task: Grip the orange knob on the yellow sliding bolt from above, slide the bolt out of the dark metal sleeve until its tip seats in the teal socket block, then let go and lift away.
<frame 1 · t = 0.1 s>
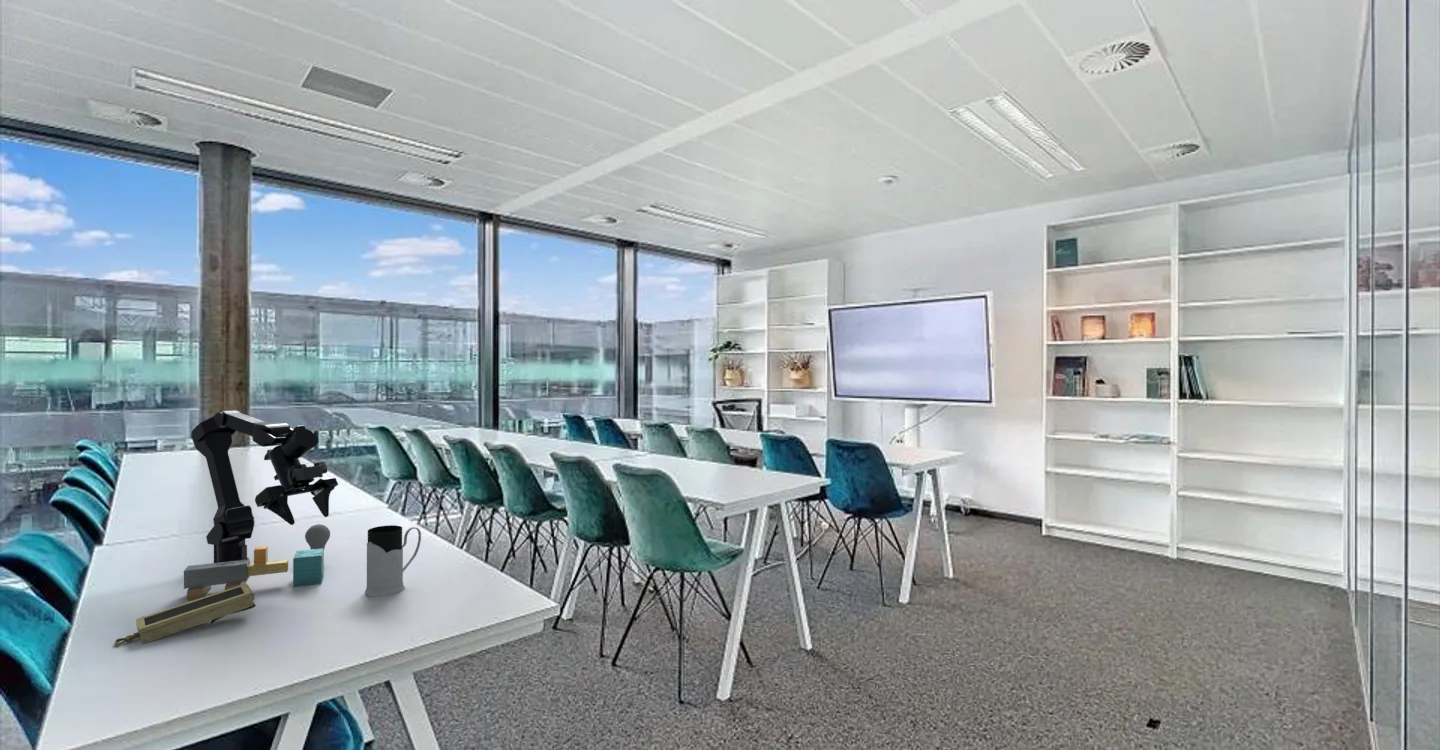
hand: (310, 520, 166), 15 cm above the table, tool tilted 35°, fingers open, 9 cm apart
light bulb: (317, 560, 181), on the table
glass holder: (395, 587, 161), on the table
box: (188, 629, 135), on the table
yellow sliding bolt: (240, 562, 158), point 6 cm above the table, slide at 0.0 cm
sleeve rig: (257, 587, 159), on the table
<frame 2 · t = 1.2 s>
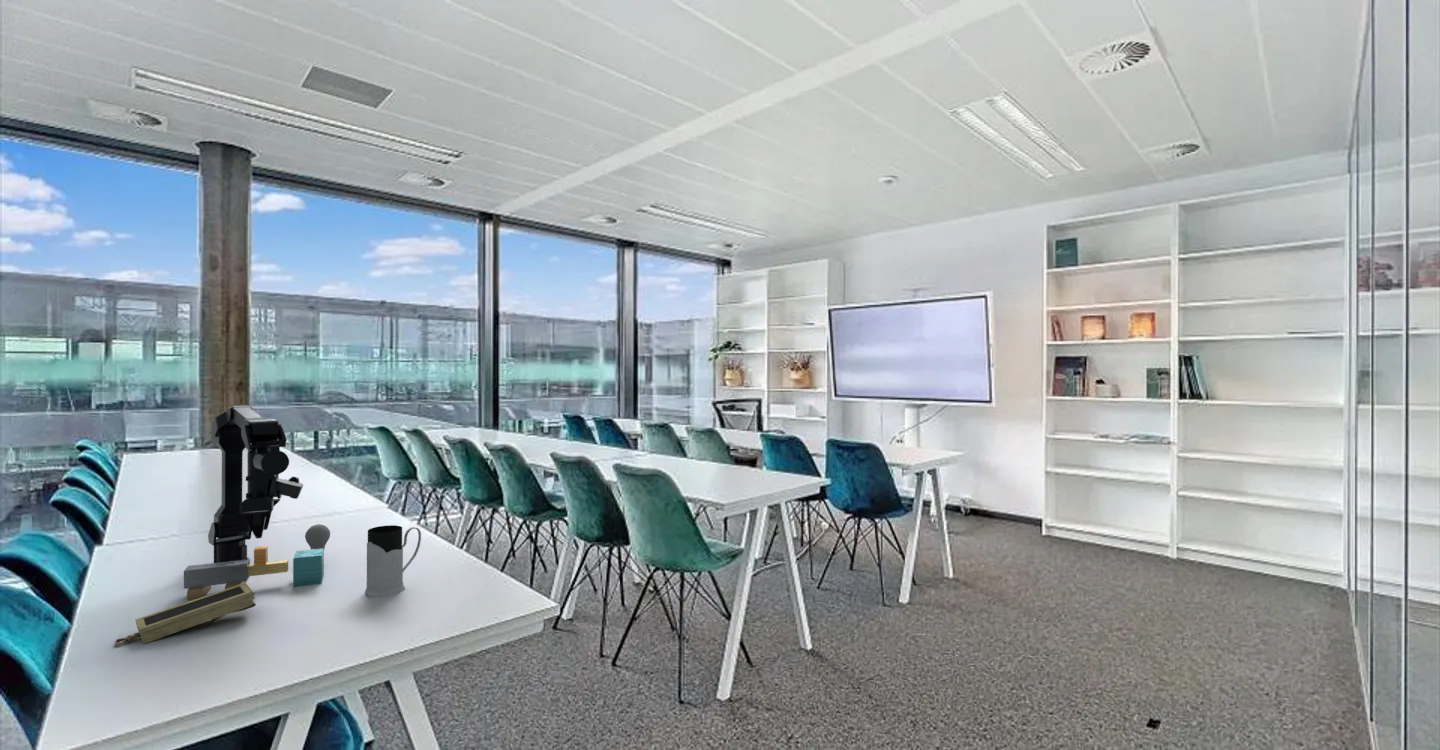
hand: (261, 533, 159), 13 cm above the table, tool pointing down, fingers open, 9 cm apart
nothing on the table moved.
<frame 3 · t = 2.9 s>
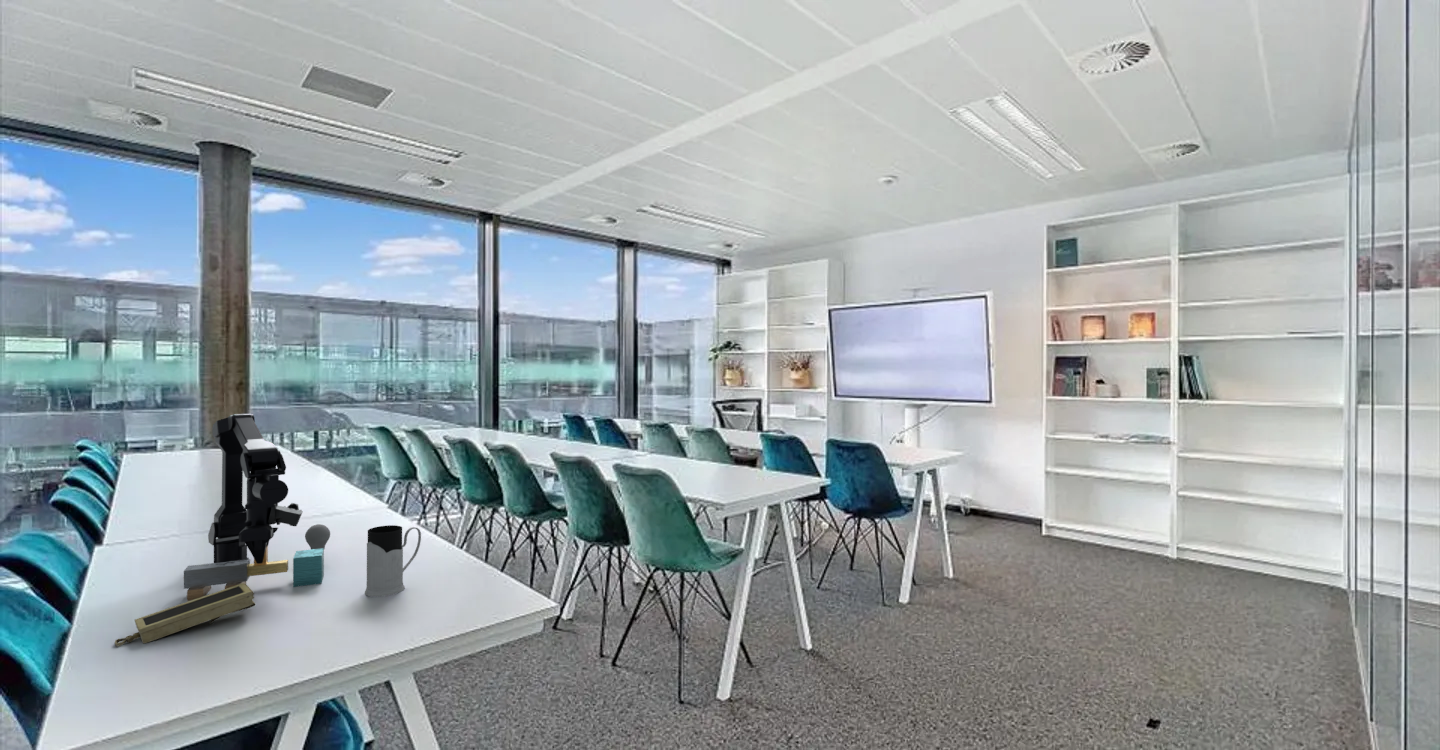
hand: (261, 561, 159), 6 cm above the table, tool pointing down, fingers closed on yellow sliding bolt, 3 cm apart
yellow sliding bolt: (240, 562, 158), point 6 cm above the table, slide at 0.0 cm, touching gripper
everything else where it was.
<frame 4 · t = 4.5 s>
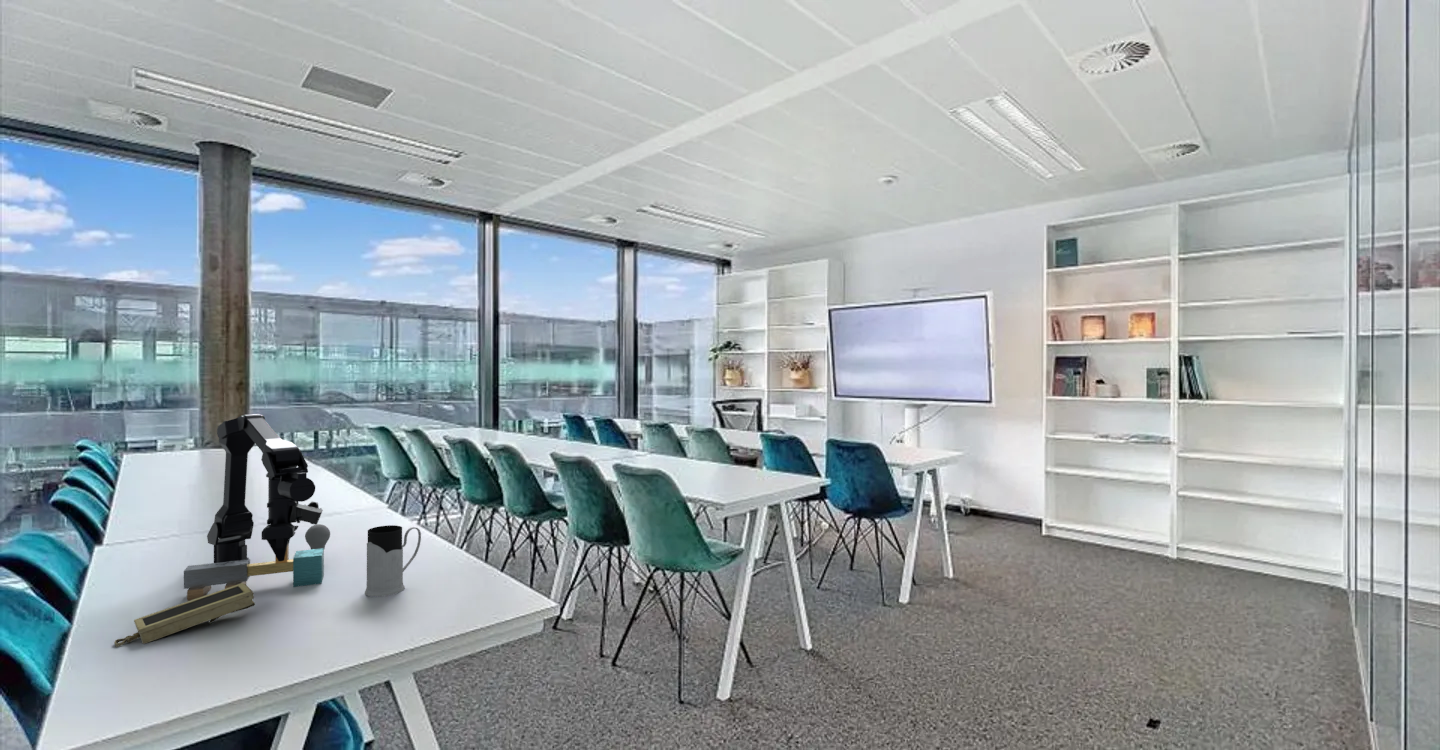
hand: (282, 559, 161), 6 cm above the table, tool pointing down, fingers closed on yellow sliding bolt, 3 cm apart
yellow sliding bolt: (262, 560, 160), point 6 cm above the table, slide at 4.3 cm, touching gripper
everything else where it was.
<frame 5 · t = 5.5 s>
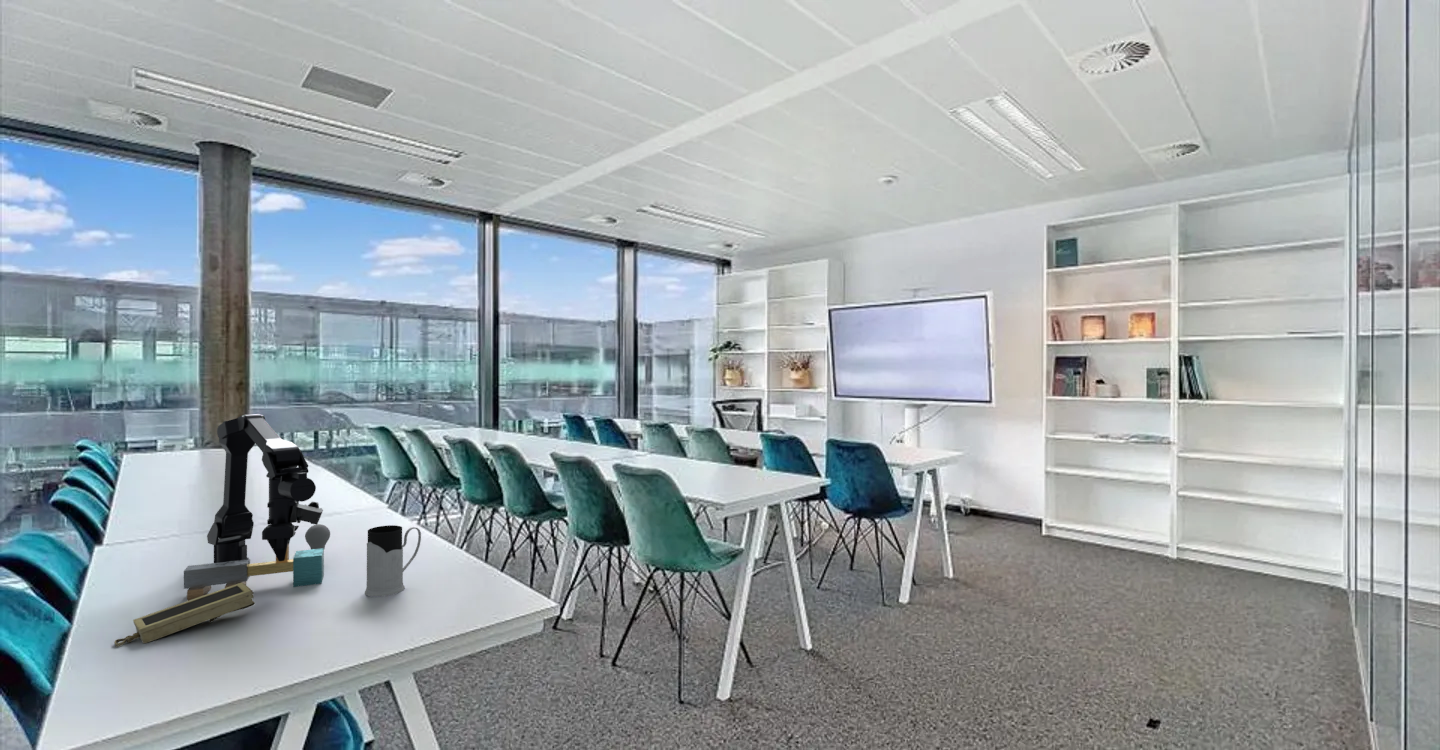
hand: (282, 559, 161), 6 cm above the table, tool pointing down, fingers closed on yellow sliding bolt, 3 cm apart
yellow sliding bolt: (263, 560, 160), point 6 cm above the table, slide at 4.4 cm, touching gripper
everything else where it was.
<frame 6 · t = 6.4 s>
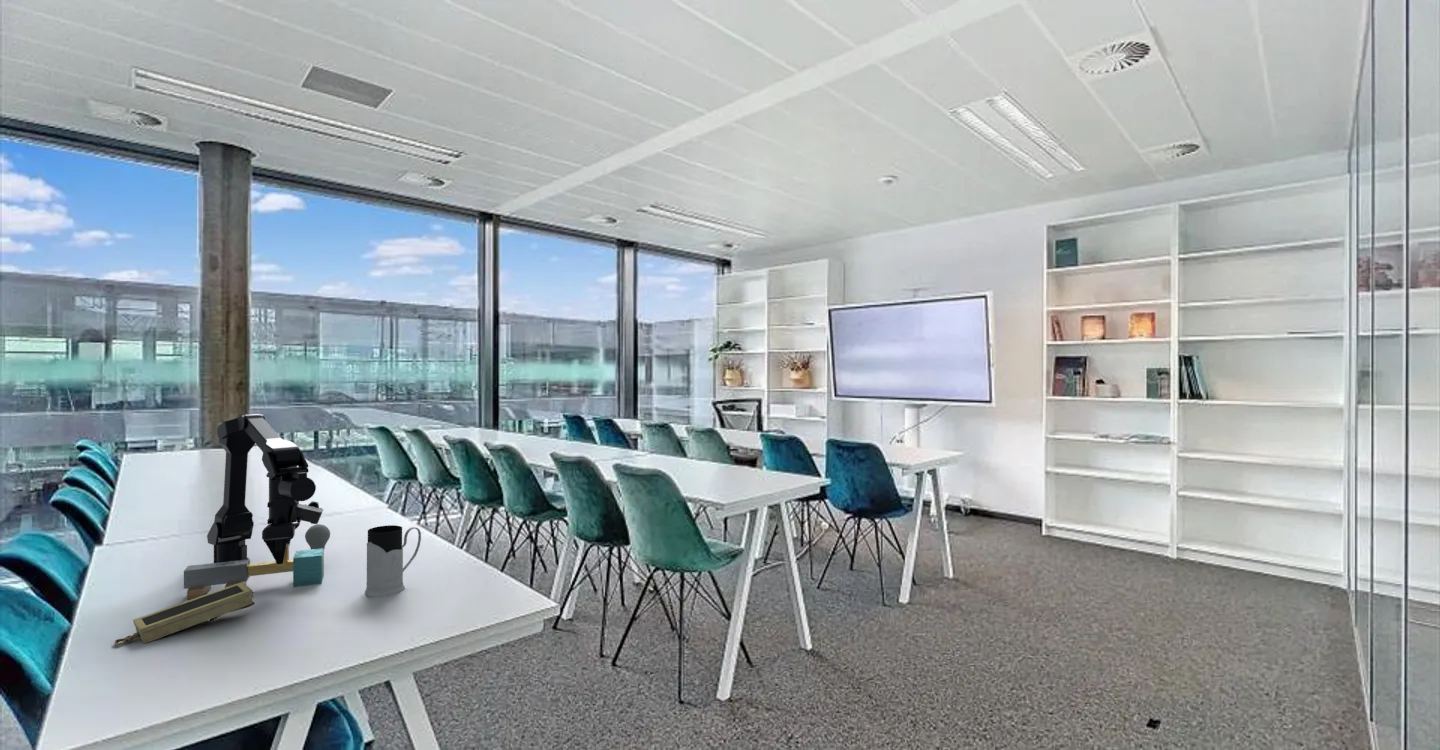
hand: (282, 558, 161), 6 cm above the table, tool pointing down, fingers open, 9 cm apart
yellow sliding bolt: (263, 560, 160), point 6 cm above the table, slide at 4.4 cm
everything else where it was.
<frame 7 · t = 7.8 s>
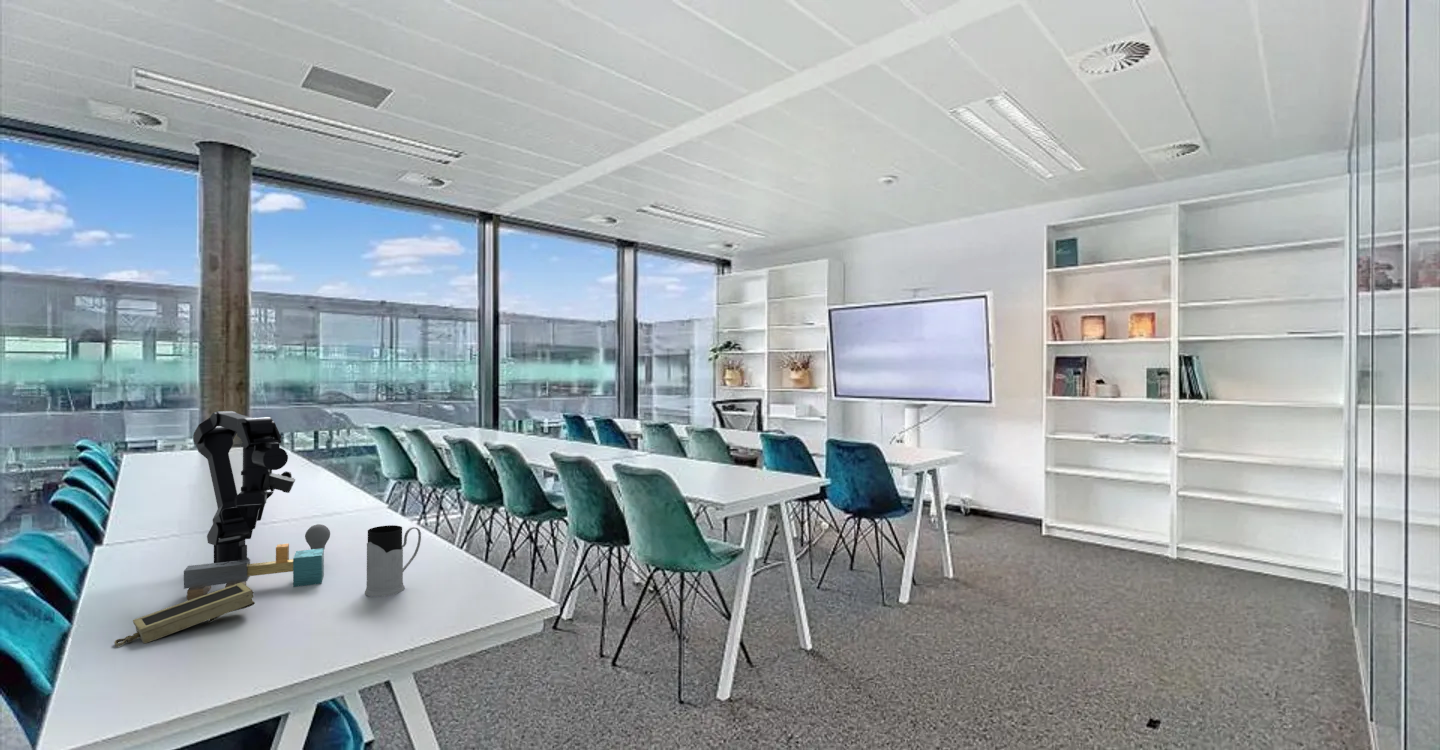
hand: (255, 524, 170), 13 cm above the table, tool pointing down, fingers open, 9 cm apart
nothing on the table moved.
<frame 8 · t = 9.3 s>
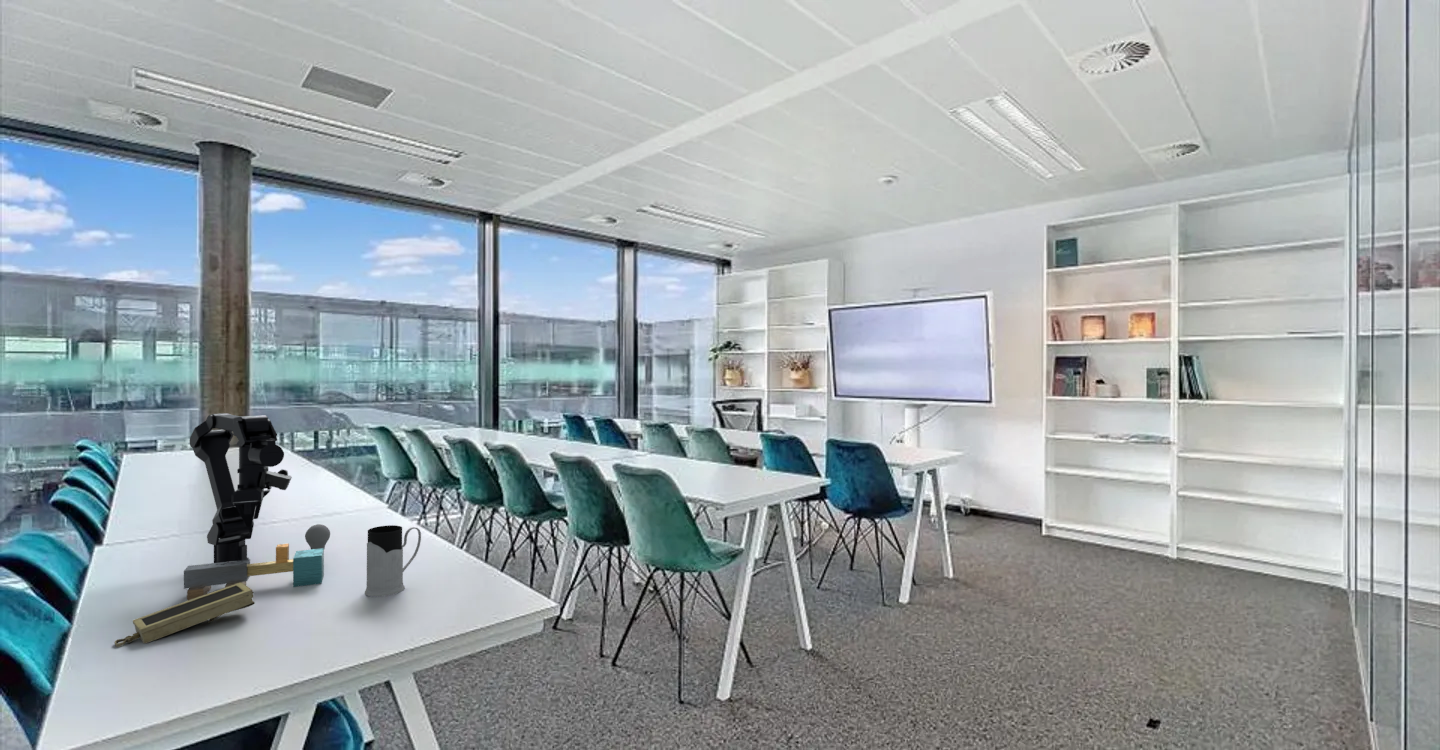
hand: (252, 522, 171), 13 cm above the table, tool pointing down, fingers open, 9 cm apart
nothing on the table moved.
at the end: yellow sliding bolt slide at 4.4 cm; the gripper is holding nothing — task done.
